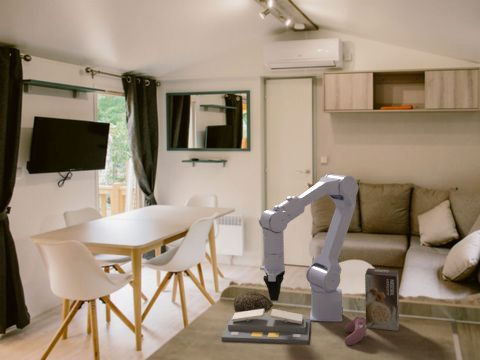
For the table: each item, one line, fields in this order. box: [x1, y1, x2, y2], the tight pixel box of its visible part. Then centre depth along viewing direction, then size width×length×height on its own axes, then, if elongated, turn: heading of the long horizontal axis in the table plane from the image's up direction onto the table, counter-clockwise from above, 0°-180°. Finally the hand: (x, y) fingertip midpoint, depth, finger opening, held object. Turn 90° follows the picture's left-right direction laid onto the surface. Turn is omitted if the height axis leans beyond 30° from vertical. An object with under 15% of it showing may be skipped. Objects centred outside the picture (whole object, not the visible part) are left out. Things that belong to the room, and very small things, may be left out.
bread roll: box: [233, 291, 274, 312], centre depth 171 cm, size 13×12×5 cm
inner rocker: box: [270, 308, 304, 324], centre depth 151 cm, size 9×5×1 cm, turn 81°
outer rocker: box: [232, 309, 266, 322], centre depth 153 cm, size 9×5×1 cm, turn 80°
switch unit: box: [220, 313, 311, 345], centre depth 150 cm, size 24×15×2 cm, turn 81°
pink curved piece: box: [344, 315, 368, 346], centre depth 143 cm, size 10×5×7 cm, turn 168°
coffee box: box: [364, 267, 400, 332], centre depth 151 cm, size 9×6×16 cm
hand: (274, 298), depth 151 cm, fingers open, 3 cm apart
